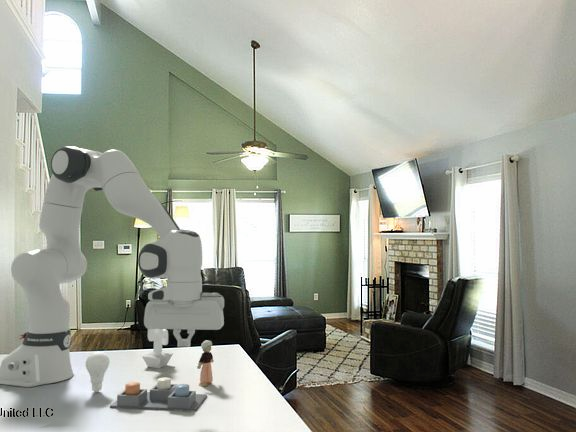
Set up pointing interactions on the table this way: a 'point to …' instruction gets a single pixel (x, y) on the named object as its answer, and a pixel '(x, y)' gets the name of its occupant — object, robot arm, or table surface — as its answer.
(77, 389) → the table surface
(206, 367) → the grandmother figurine
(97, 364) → the lightbulb
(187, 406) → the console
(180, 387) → the slate button
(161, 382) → the cream button
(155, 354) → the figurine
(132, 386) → the rust button
